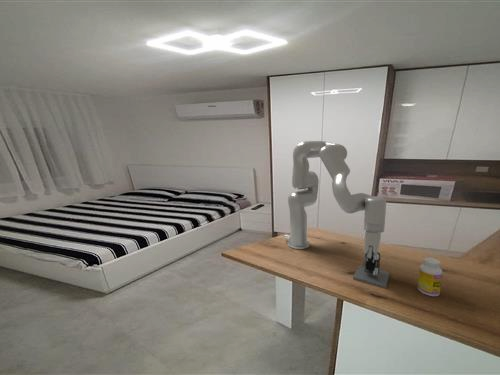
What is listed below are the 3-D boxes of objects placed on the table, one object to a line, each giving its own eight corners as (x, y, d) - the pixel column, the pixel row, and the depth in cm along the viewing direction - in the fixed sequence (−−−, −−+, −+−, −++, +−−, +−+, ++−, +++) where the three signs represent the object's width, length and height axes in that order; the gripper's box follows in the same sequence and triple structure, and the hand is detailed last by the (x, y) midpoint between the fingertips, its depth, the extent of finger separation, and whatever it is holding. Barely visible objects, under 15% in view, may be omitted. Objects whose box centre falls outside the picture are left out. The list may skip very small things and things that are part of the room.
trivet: (353, 279, 97) (353, 277, 97) (359, 266, 106) (359, 264, 106) (385, 288, 90) (385, 286, 90) (389, 274, 99) (389, 272, 99)
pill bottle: (381, 276, 94) (383, 250, 92) (365, 274, 96) (367, 249, 94) (376, 268, 100) (378, 244, 98) (361, 267, 101) (363, 243, 99)
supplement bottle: (432, 299, 83) (436, 266, 81) (413, 289, 89) (416, 258, 87) (443, 294, 85) (447, 262, 83) (424, 284, 91) (427, 254, 89)
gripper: (367, 219, 103) (365, 256, 107) (359, 231, 90) (357, 273, 93) (386, 221, 99) (384, 260, 102) (381, 234, 85) (378, 278, 88)
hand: (371, 266), depth 97 cm, fingers closed on pill bottle, 6 cm apart
